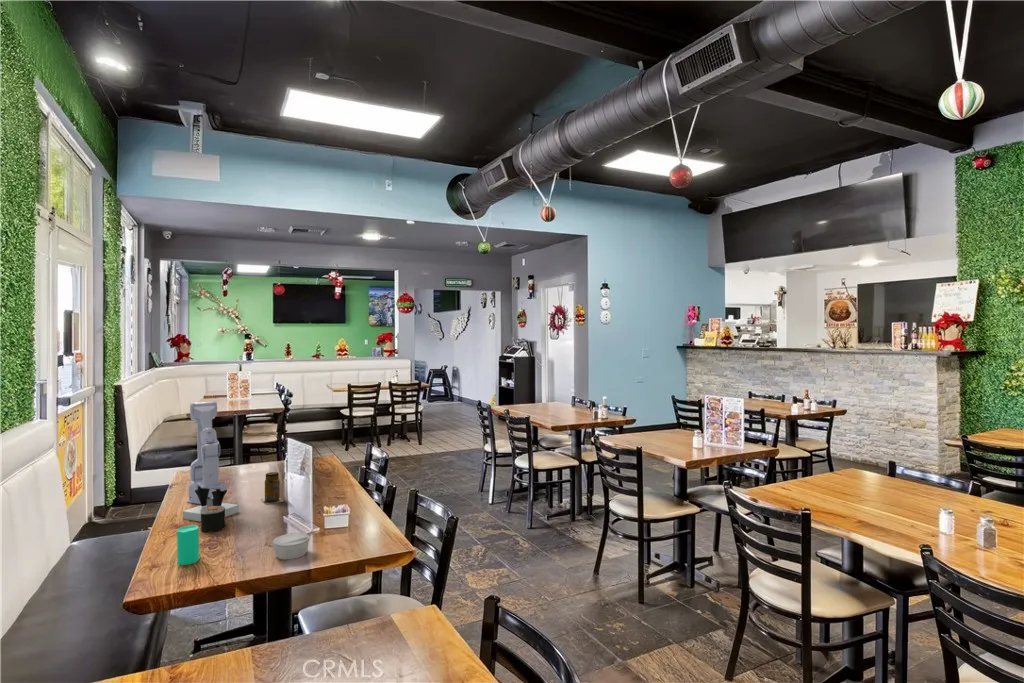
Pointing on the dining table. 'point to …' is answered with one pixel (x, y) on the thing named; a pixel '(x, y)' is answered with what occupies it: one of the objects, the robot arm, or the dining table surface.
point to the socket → (195, 512)
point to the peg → (210, 501)
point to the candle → (187, 545)
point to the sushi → (212, 519)
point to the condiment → (272, 488)
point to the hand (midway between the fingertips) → (211, 506)
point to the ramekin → (291, 545)
